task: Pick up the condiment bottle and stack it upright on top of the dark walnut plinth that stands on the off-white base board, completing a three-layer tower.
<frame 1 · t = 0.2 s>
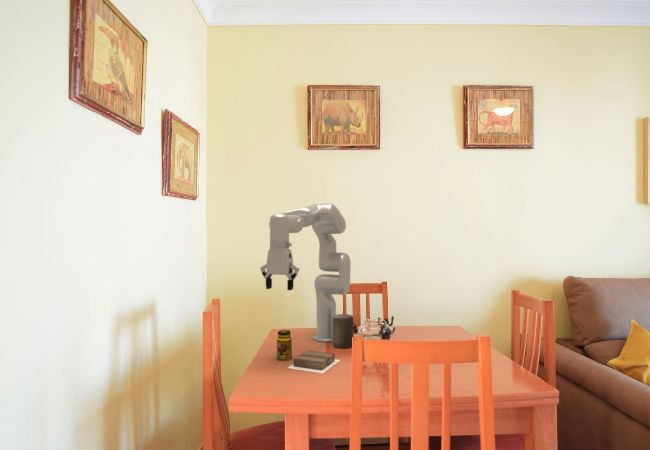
hand: (279, 289, 160), 30 cm above the table, tool pointing down, fingers open, 9 cm apart
pillar candle: (343, 346, 188), on the table
condiment: (284, 360, 167), on the table
base board: (314, 365, 159), on the table
plinth: (314, 363, 160), resting on base board
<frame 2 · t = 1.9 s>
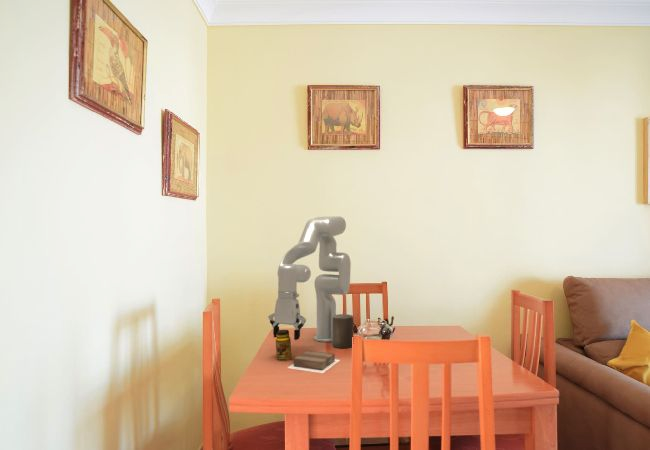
hand: (286, 338, 166), 9 cm above the table, tool pointing down, fingers open, 9 cm apart
condiment: (284, 360, 167), on the table, touching gripper
everything else where it was.
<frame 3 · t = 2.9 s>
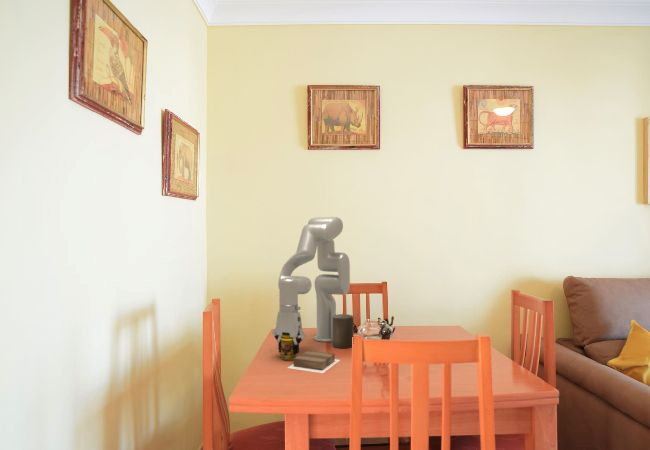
hand: (288, 352, 166), 3 cm above the table, tool pointing down, fingers closed on condiment, 6 cm apart
condiment: (288, 360, 167), on the table, touching gripper
everything else where it was.
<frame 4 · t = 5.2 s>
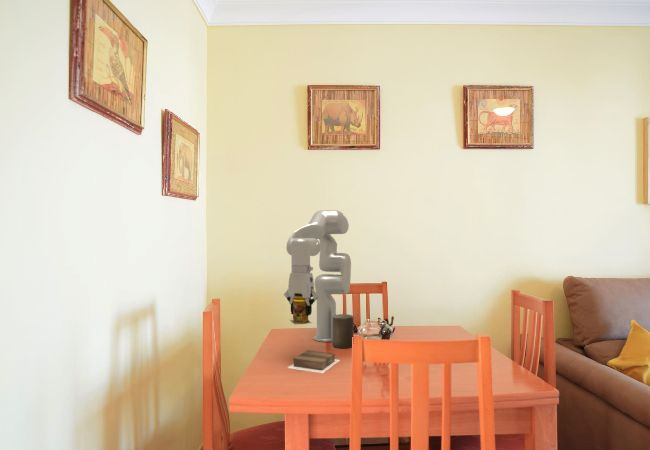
hand: (301, 314, 163), 20 cm above the table, tool pointing down, fingers closed on condiment, 6 cm apart
condiment: (300, 322, 164), point 16 cm above the table, touching gripper
everything else where it was.
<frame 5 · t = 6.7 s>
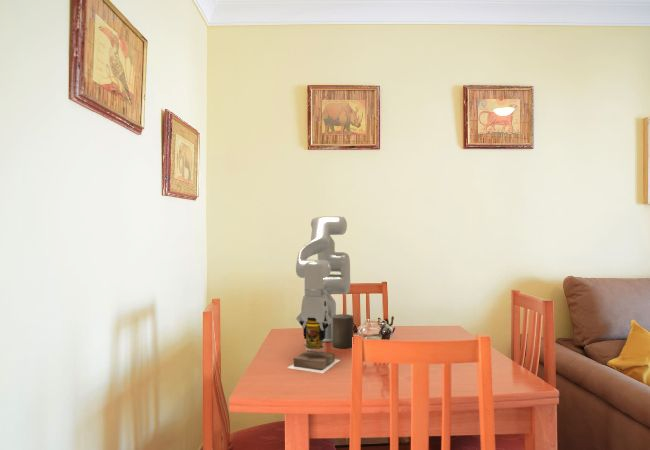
hand: (314, 338, 160), 11 cm above the table, tool pointing down, fingers closed on condiment, 6 cm apart
condiment: (313, 347, 160), point 7 cm above the table, touching gripper
everything else where it was.
when the fingers open (8 cm above the table, at t = 7.6 s): condiment stays where it is, resting on plinth.
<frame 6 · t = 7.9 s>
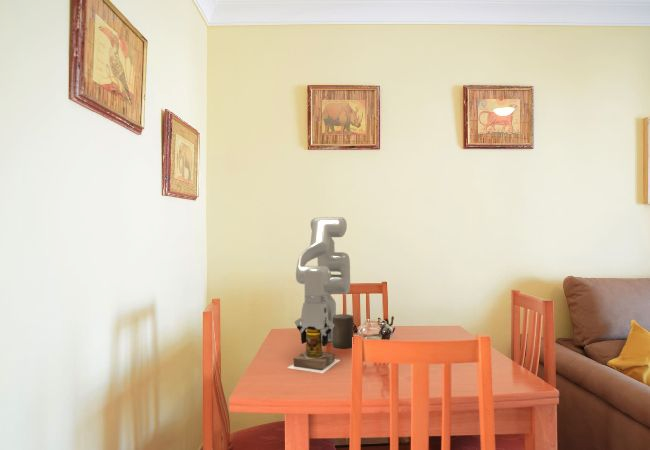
hand: (314, 343, 160), 9 cm above the table, tool pointing down, fingers open, 8 cm apart
condiment: (313, 355, 160), point 4 cm above the table, touching plinth
everything else where it was.
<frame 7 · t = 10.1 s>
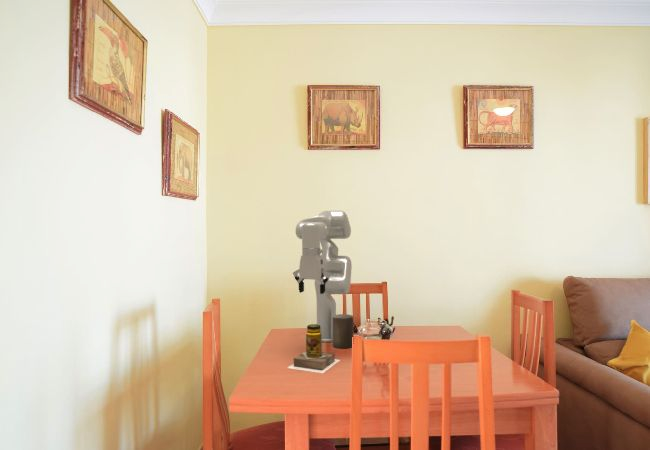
hand: (311, 292, 172), 27 cm above the table, tool pointing down, fingers open, 9 cm apart
nothing on the table moved.
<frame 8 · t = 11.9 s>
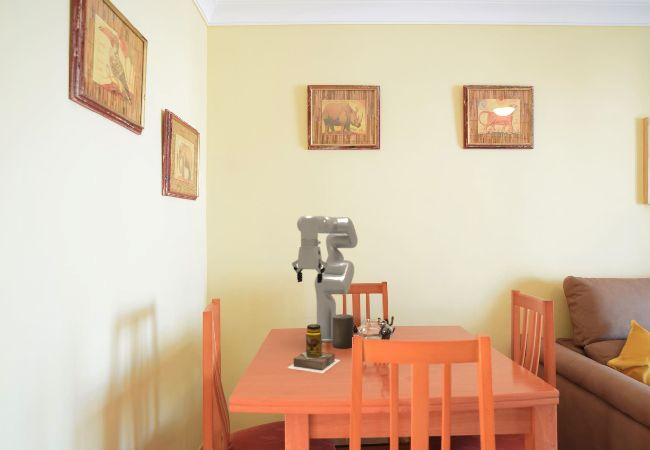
hand: (309, 282, 180), 30 cm above the table, tool pointing down, fingers open, 9 cm apart
nothing on the table moved.
at the end: condiment inside the target area on the plinth (1.0 cm from its centre), point 2.8 cm above the plinth's base; condiment tilted 0°; the gripper is holding nothing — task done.
